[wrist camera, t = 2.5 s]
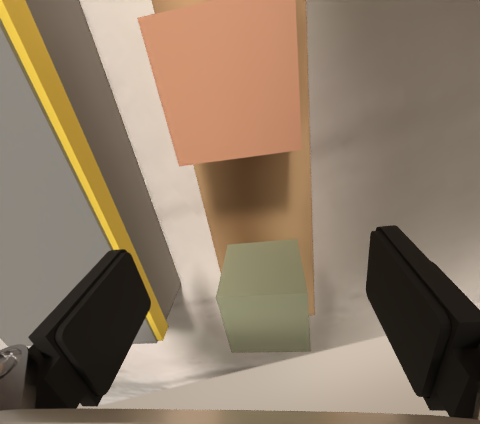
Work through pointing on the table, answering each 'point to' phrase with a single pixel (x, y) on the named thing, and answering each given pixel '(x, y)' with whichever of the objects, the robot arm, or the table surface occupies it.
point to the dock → (66, 173)
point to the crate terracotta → (227, 78)
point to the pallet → (262, 181)
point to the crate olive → (264, 297)
